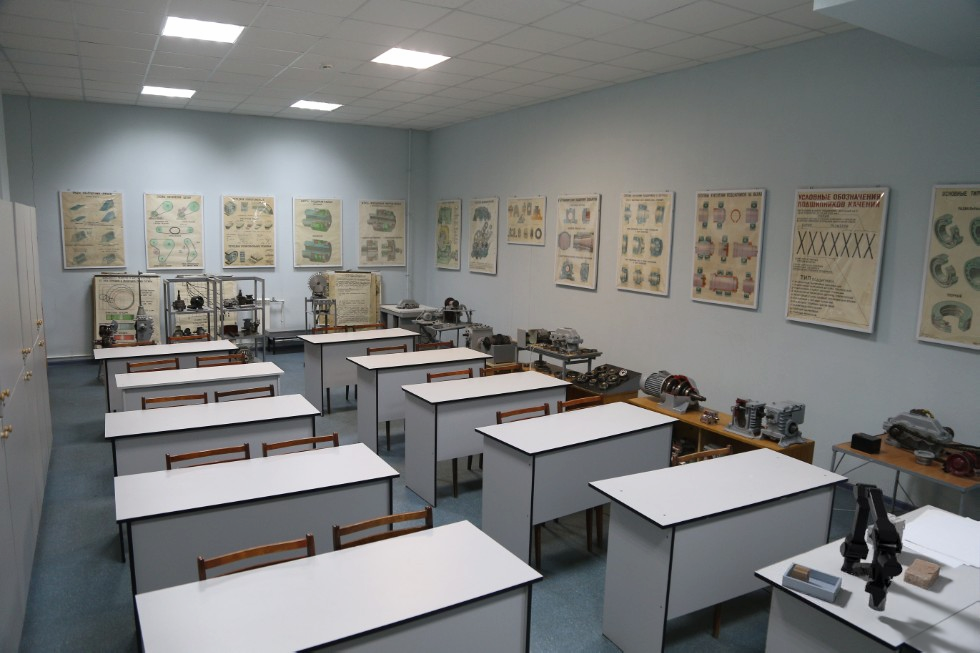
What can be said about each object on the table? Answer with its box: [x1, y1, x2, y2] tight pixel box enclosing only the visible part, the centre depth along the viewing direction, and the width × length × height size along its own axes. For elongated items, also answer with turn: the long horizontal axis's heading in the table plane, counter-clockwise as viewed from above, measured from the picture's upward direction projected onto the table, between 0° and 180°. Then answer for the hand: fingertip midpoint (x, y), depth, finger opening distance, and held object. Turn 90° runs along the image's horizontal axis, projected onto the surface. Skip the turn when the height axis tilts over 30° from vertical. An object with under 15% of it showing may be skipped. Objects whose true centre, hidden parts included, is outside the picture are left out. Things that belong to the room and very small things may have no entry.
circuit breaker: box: [866, 512, 906, 556], centre depth 270 cm, size 8×14×15 cm, turn 115°
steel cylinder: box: [867, 593, 888, 612], centre depth 224 cm, size 5×5×7 cm
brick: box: [903, 558, 941, 590], centre depth 250 cm, size 16×8×5 cm, turn 131°
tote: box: [781, 562, 843, 604], centre depth 243 cm, size 14×18×4 cm
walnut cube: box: [792, 565, 810, 583], centre depth 245 cm, size 5×5×5 cm
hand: (877, 603), depth 224 cm, fingers closed on steel cylinder, 5 cm apart
